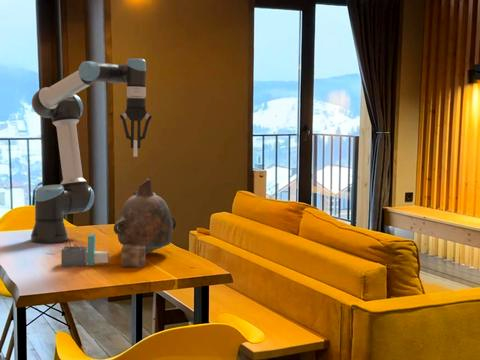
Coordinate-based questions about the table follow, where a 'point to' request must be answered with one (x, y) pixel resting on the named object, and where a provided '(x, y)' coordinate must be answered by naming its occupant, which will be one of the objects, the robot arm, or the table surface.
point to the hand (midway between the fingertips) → (135, 156)
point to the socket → (133, 255)
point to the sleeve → (73, 257)
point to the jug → (145, 220)
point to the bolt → (95, 252)
